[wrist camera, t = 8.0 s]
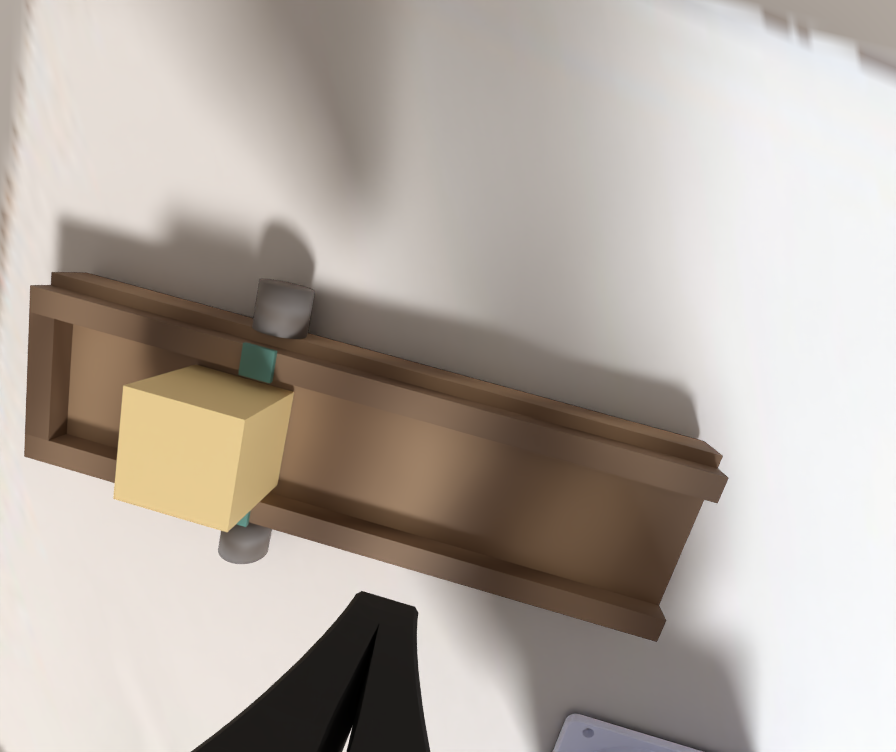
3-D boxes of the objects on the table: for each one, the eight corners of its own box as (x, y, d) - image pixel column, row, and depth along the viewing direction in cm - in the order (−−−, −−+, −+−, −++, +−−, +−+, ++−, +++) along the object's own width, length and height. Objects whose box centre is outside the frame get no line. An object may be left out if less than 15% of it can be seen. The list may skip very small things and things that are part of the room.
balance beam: (721, 398, 17) (759, 418, 15) (620, 643, 20) (637, 693, 18) (88, 228, 18) (26, 221, 16) (72, 481, 21) (17, 508, 19)
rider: (294, 391, 17) (245, 420, 14) (277, 484, 18) (227, 532, 15) (195, 364, 17) (123, 385, 14) (183, 457, 18) (113, 499, 15)
